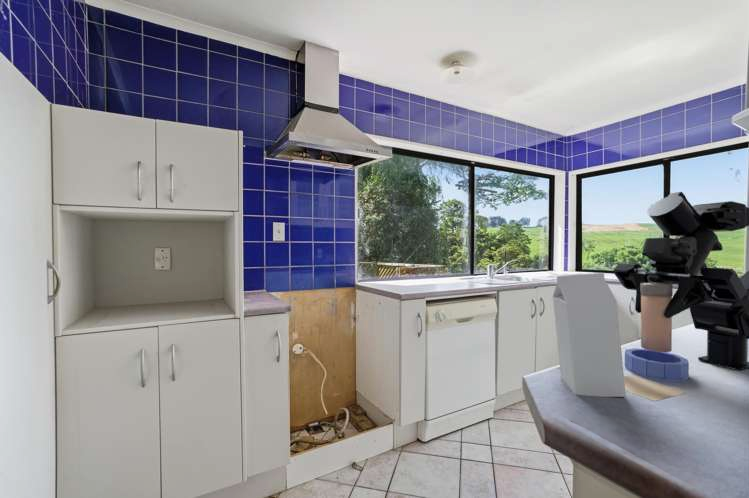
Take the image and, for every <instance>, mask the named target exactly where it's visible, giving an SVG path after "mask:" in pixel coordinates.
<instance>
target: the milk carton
mask: <svg viewBox="0 0 749 498" xmlns="http://www.w3.org/2000/svg"><path fill="white" fill-rule="evenodd" d="M612 291H613V290H611V288H610V286H609V284H608V282H607V281H606V279H605V273H604V272H598V273H597V272H595V273H584V274H583V273H581V274H569V275H565V274H564V275H558V276H556V286H555V289H554V292H553V295H552V302H553V311H554V321H555V322H554V323H555V332H556V340H557V355H558V363H559V364H558V365H559V373H560V379H561V380H562V381H563V382H564V383H565V384H566V386H567V387H568V388H569V389H570V390H571V392H573V394H574V395H576V396H577V395H578V396H588V397H601V398H603V397H606V398H610V397H611V398H612V397H613V398H616V397H619V398H620V397H626V396H627V395H626V394H627V393H626V392H627V391H625V382H624V376H625V374H624V364H623V355H622V354H623V353H622V344H621V334H620V333H621V332H620V324H619V323H620V322H619V313H618V304H617V303H618V302H617V299H616V297H615V295H614V294H613V292H612Z"/></svg>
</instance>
